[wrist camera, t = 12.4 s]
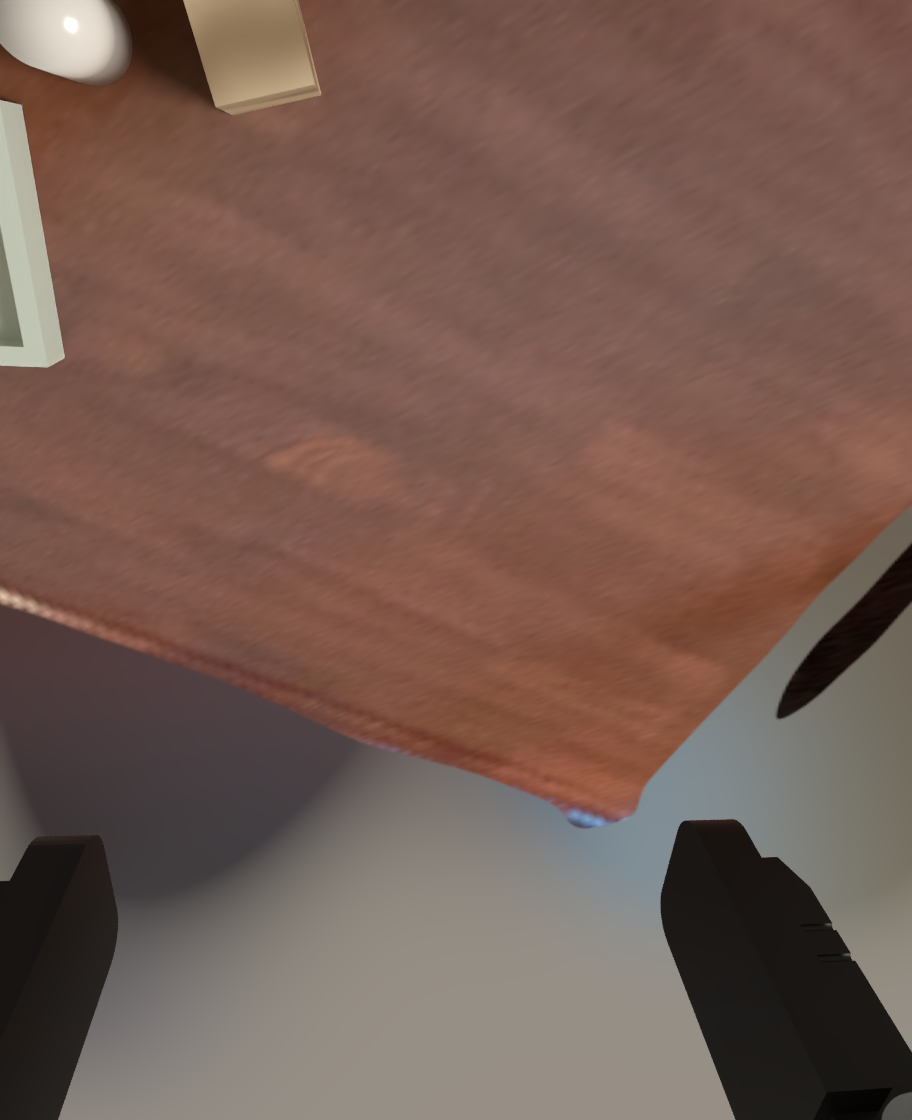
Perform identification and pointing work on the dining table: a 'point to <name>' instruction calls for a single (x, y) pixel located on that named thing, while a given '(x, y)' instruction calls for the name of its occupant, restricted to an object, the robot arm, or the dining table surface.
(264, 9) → the oak cube
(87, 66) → the ceramic shaker
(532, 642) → the dining table surface
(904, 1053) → the robot arm
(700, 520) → the dining table surface
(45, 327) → the tray
